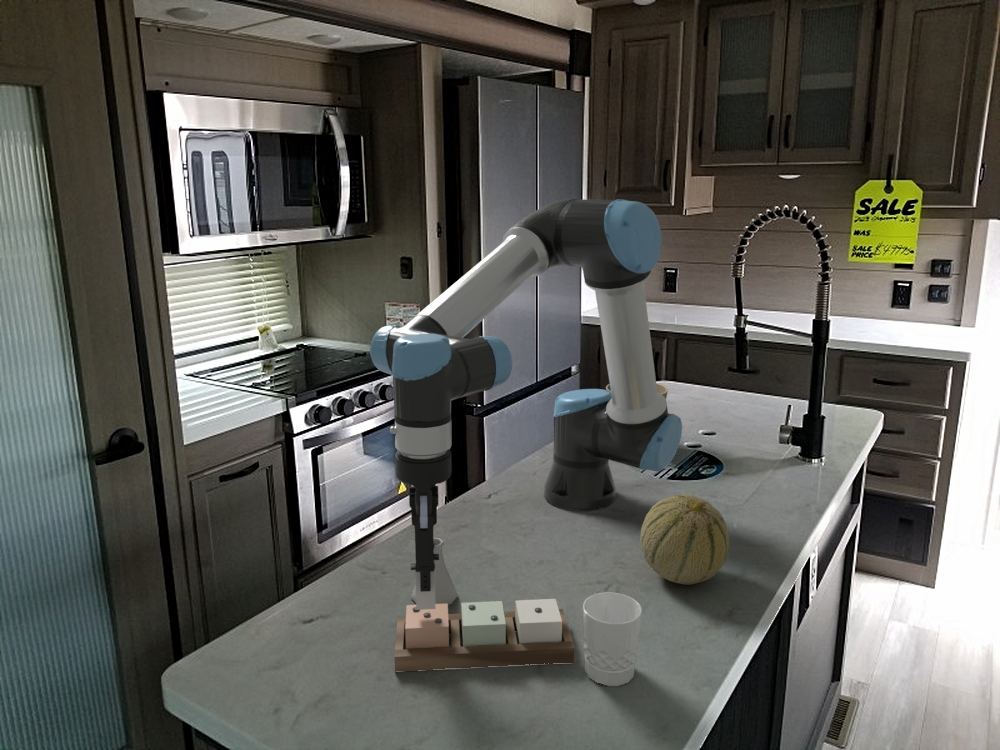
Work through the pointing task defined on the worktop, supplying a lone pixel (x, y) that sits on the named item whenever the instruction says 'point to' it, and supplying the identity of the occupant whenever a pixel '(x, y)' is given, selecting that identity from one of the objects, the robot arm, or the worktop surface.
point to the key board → (482, 649)
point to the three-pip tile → (427, 627)
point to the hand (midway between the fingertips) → (425, 606)
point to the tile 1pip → (538, 621)
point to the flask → (441, 579)
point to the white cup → (611, 637)
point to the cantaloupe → (684, 539)
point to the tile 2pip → (483, 623)
